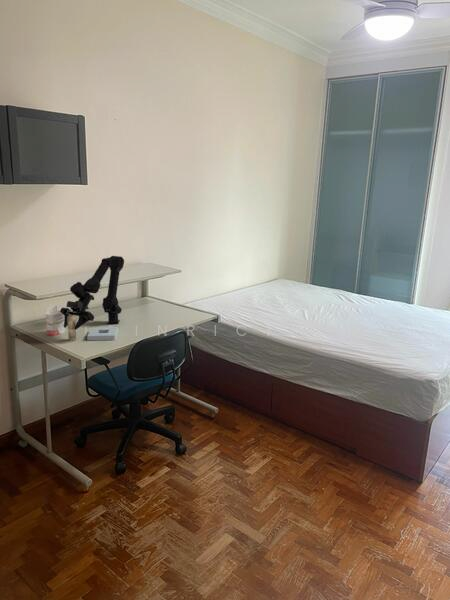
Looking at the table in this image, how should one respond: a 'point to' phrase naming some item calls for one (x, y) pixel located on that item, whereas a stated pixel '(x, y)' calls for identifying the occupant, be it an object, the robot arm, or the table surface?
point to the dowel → (71, 328)
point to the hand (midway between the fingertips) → (69, 328)
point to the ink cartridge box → (54, 321)
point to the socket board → (103, 333)
